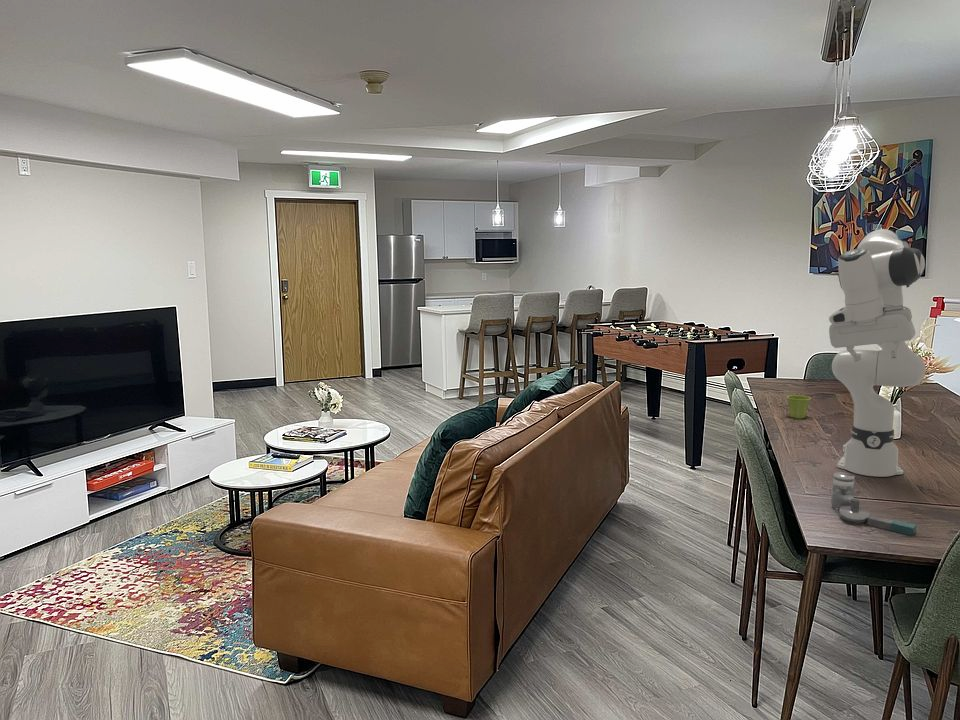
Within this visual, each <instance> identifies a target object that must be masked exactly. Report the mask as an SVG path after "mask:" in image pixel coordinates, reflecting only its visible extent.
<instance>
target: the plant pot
mask: <svg viewBox="0 0 960 720" xmlns="http://www.w3.org/2000/svg"><path fill="white" fill-rule="evenodd" d="M786 398H787V401H788V409H789V412H788V413H789V417H790V418H794V419H796V420H797V419H801V420H802V419H806V417H807V412H808V408H809V403H810V401H811V400H812V398H811V397H810V396H806V395H799V394H798V395H797V394H796V395H787V396H786Z"/></svg>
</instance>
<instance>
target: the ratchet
mask: <svg viewBox="0 0 960 720" xmlns="http://www.w3.org/2000/svg"><path fill="white" fill-rule="evenodd" d="M860 503H861V501H860V499H858V498H854V499H852V498H851V506H843V507H841V508H840V509H839V513H838V514H839V515H838V517H839V518H840V519H841V520H840V519H839V520H840V521H842V522H844V523H846V524H850V525H855V524H856V526H863V525H862V524H865V525H867V524H868V525H867V526H870V525H871V526H872V527H875V526H876V527H875V528H879V527H880V529H884V530H886V531H887V530H888V531H890V532H894V533H899V534H902V535H903V534H904V535H908V536H911V537H912V536H914V535H915V534H916V533H917V524H914V523H911V522H910V523H909V522H904V521H901V520H897V519H888V518H883V517H879V516H875V515H871V513H870V511H869V510H867V508H866V509H865V508H862V507H860Z"/></svg>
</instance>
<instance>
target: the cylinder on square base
mask: <svg viewBox="0 0 960 720" xmlns="http://www.w3.org/2000/svg"><path fill="white" fill-rule="evenodd" d="M832 478H833V479H832V488H831V499H830V502H831V503H830V504H831V505H832V506H831V509H836V508H839V509H838V510H840V508H841V507H843V506H851V498H852V499H855V496H854V490H855V480H856V479H855V478H856V477H855V475H854V474H853V473H849V472H845V471H844V472H842V471H838V472H833V475H832Z"/></svg>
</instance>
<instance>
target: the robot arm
mask: <svg viewBox="0 0 960 720" xmlns="http://www.w3.org/2000/svg"><path fill="white" fill-rule="evenodd" d="M925 262H926V261H925V257H924V255H923V253H922V251H921V250H920V249H918V248H914V247H911V245H910V244H909V243H908V241H905V240H901V239H900V238H899V237H898V235H897V234H896V233H895V232H894V231H893V230H890V229H886V228H880V229H876V230H872V231H871V232H869V233H868V234H866V235H865V236H864V237H863V238H862V240H861V241H860V242H859V243H858V246H857V248H855V249H854V248H853V249H850V250H847V251H845V252H843V253H842V254H841V255H839V256H838V260H837V265H838V273H837V276H838V280H839V285H840V286H839V287H840V289H842V291H843V293H844V304H845V306H844V307H842V308H839V309H838V310H836V311H834V312H833V313H832V314H830V316H829V317H828V320H829V323H830V325H829V328H828V333H829V334H828V335H829V340H830V345H831V346H832V347H833V348H834V349H839V348H846V350H841V351H838V353H837V354H835V356H834V357H833V359H832V363H831V370H832V373H833V375H834V377H835V379H837V380H838V381H839V382H841V384H842V385H844V386H845V388H846V389H847V390H848V392H849V393H850V396H851V398H852V401H853V425H851V429H850V433H851V434H850V437H851V438H850V439H849V440H848V441H847V442H845V444H843V445H842V452H844V453H843V456H842V457H841V458H840V459H839V461H838V462H837V463H836V467H837V468H839V469H842V470H845V471H849V472H851V473H852V474H853V473H854V474H856V475H857V474H858V475H861V476H867V477H880V478H882V477H883V478H886V477H891V476H892V477H893V476H896V475H904V470H903V469H902V467H901V468H900V467H899V465H898V464H899V463H898V462H899V459H898V457H899V448H898V447H897V445H895V443H894V439H895V430H894V418H895V417H894V416H895V406H894V405H893V403H892V402H891V401H890V400H889V399H888V398H886V397H884V396H883V395H881V394H878V392H876V391H875V390H874V386H882V387H892V388H893V387H895V388H906V387H915V386H918V385H919V384H920V383H921V382H922V381H924V378H925V376H926V372H927V371H926V370H927V369H926V363H925V362H924V360H923V358H922V357H921V356H920V355H918V354H917V353H915V352H914V351H913V350H912V349H911V348H910V347H909V346H908V344H907V343H906V342H908V341H911V340H912V339H914V338H915V335H916V329H915V326H914V324H913V320H912V318H913V315H912V311H911V309H910V308H909V307H907V306H904V297H903V288H902V287H903V286H904V287H905V286H906V288H909V287H910V286H911V285H913V283H915V282H917V281H918V280H919V279H920V278H921V276H922V274H923V273H924V270H925V267H926V263H925ZM868 345H878V346H879V347H880V348H881V349H880V350H873V349H870V350H869V349H855V347H858V346H859V347H860V346H868Z"/></svg>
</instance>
